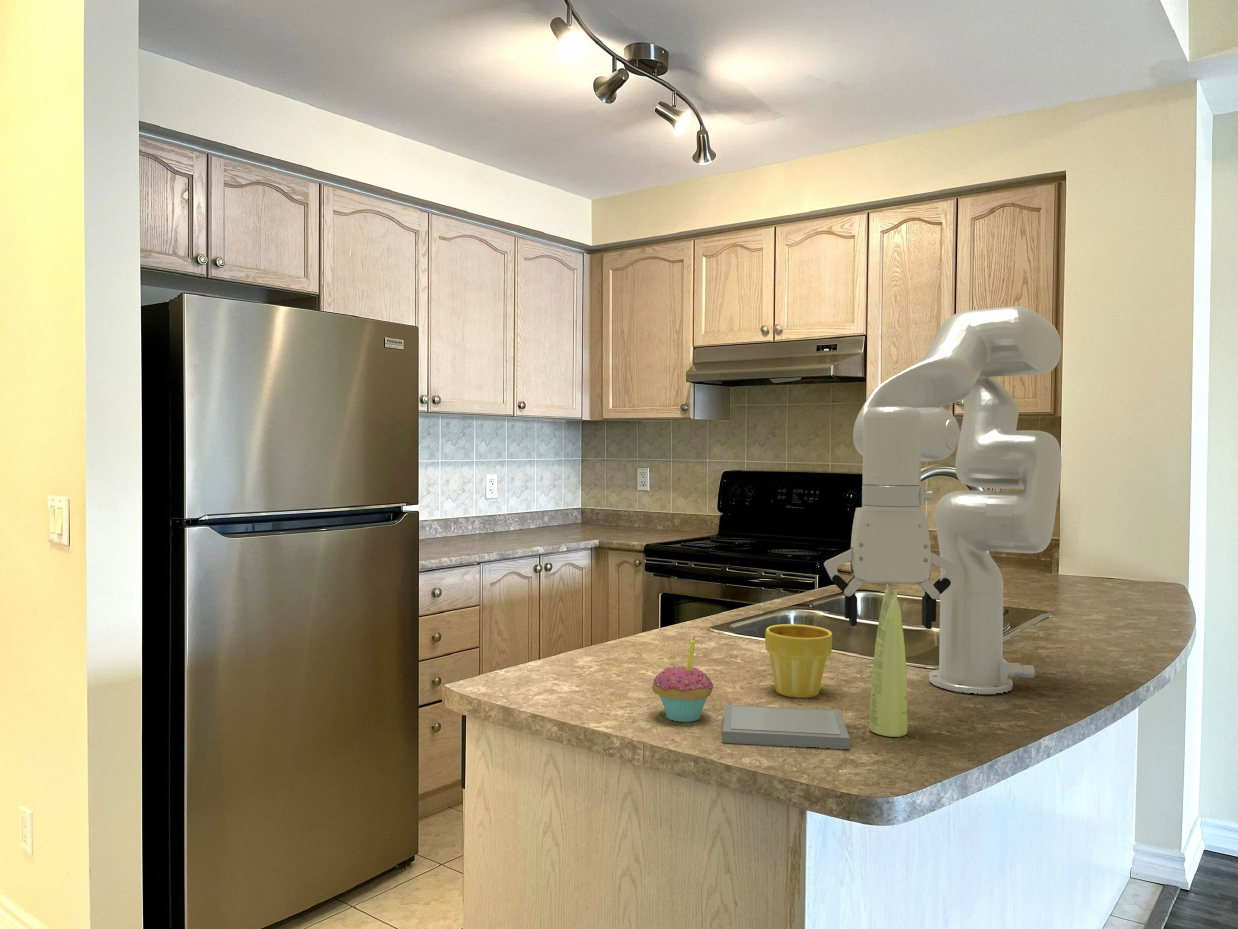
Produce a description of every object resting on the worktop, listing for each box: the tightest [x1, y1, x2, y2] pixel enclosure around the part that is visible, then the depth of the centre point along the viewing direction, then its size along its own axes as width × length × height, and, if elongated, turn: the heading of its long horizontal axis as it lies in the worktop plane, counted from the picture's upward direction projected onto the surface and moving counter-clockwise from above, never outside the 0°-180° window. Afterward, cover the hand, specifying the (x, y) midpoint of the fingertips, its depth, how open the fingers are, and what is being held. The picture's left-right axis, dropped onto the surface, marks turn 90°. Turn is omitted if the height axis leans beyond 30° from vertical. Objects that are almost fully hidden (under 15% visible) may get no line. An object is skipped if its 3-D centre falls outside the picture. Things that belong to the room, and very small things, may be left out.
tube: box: [869, 584, 908, 738], centre depth 118 cm, size 6×5×20 cm
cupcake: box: [651, 635, 714, 723], centre depth 124 cm, size 9×8×12 cm
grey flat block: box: [722, 704, 851, 750], centre depth 118 cm, size 16×12×2 cm
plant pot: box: [764, 623, 833, 699], centre depth 137 cm, size 10×10×10 cm
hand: (889, 625), depth 117 cm, fingers open, 9 cm apart
